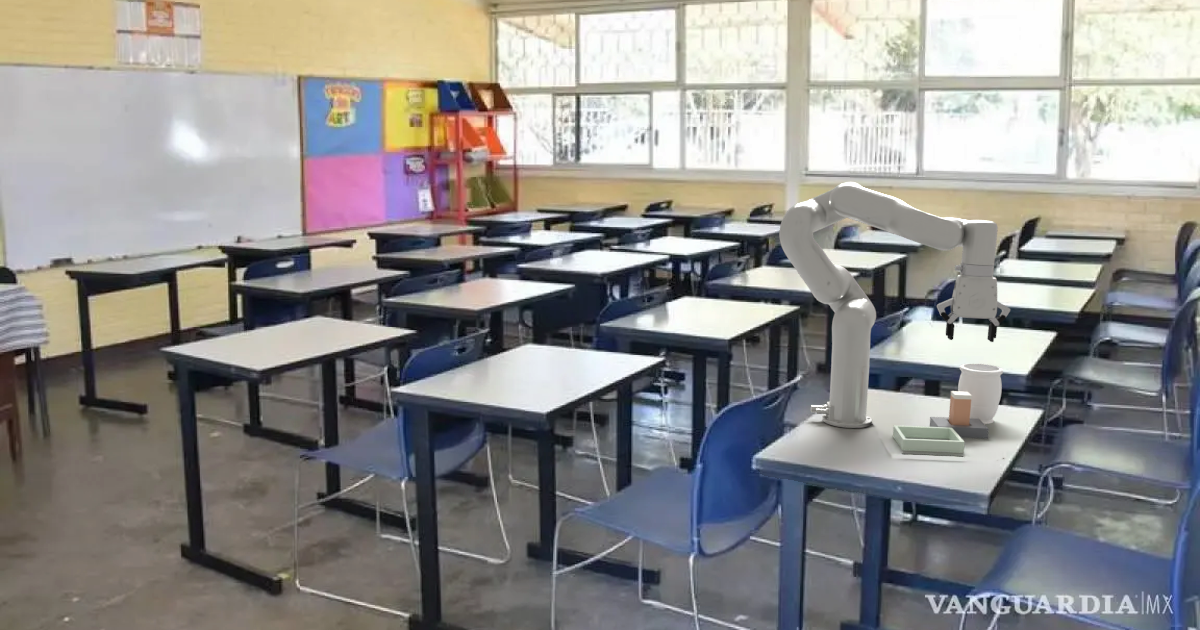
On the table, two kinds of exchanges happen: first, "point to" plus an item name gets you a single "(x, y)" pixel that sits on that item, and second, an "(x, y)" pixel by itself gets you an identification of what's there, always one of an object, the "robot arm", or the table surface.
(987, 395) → the jar
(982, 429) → the grey block
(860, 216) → the robot arm
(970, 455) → the table surface
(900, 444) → the tray
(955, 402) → the plug
